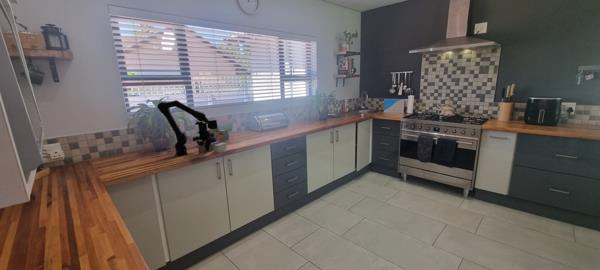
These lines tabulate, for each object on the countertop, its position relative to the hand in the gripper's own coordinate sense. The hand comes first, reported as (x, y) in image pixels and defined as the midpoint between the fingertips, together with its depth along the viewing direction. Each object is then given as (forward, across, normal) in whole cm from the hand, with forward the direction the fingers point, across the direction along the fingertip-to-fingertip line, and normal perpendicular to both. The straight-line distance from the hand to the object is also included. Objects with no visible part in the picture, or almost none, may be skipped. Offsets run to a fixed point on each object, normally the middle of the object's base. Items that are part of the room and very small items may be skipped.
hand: (205, 150), depth 184 cm
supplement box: (+1, +37, +4) cm, 37 cm away
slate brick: (+1, +1, -10) cm, 10 cm away
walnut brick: (+1, 0, 0) cm, 1 cm away
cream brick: (+1, -7, -8) cm, 11 cm away
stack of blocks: (+1, +17, -26) cm, 32 cm away
